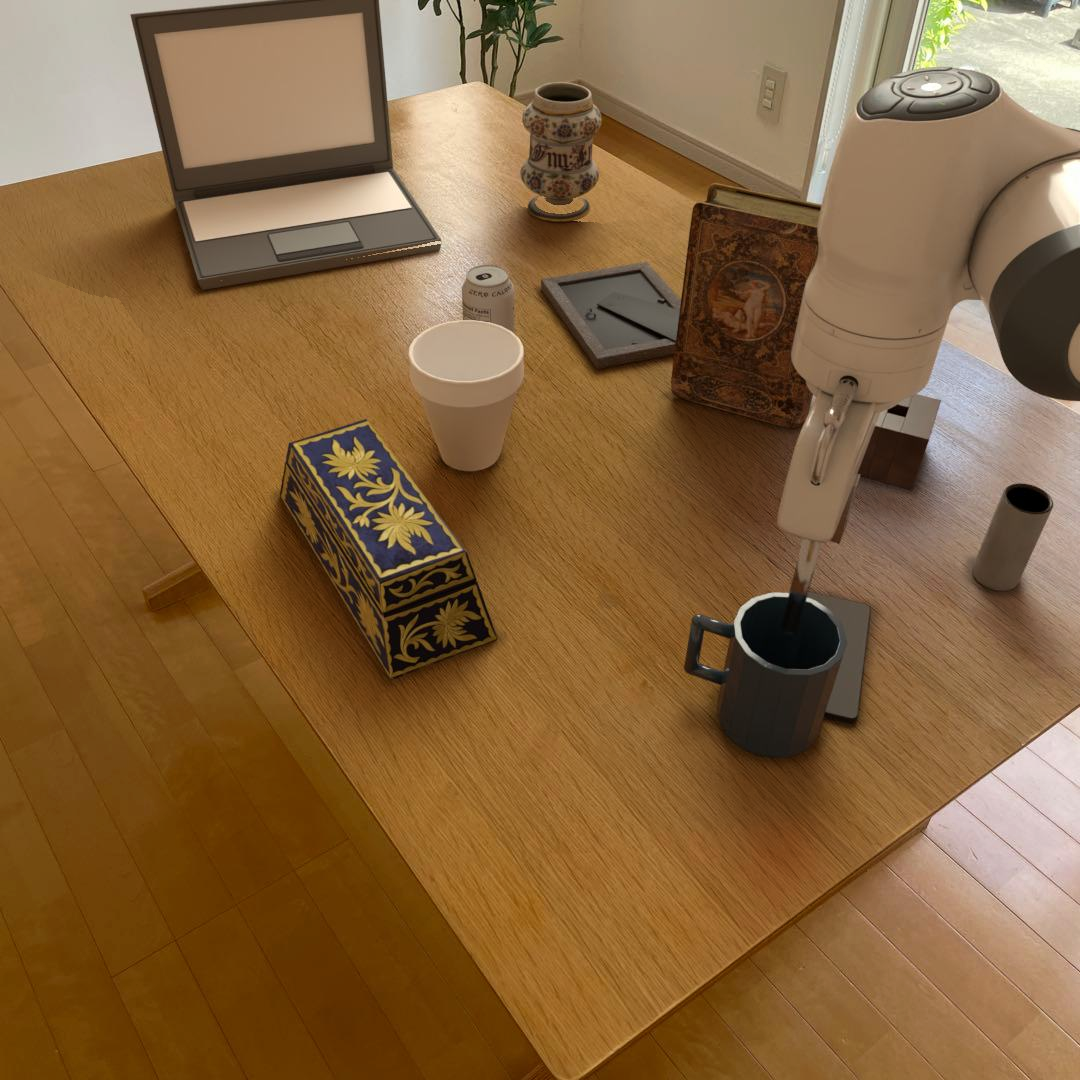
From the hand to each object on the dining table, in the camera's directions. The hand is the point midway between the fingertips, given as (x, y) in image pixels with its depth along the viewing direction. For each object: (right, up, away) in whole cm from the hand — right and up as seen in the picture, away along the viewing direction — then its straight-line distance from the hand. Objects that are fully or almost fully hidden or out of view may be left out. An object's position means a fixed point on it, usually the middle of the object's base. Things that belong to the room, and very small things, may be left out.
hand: (822, 506), depth 76 cm
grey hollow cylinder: (+26, -6, +30) cm, 40 cm away
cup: (-28, +7, +44) cm, 53 cm away
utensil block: (+19, +7, +43) cm, 48 cm away
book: (+4, +14, +52) cm, 54 cm away
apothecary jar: (-17, +50, +89) cm, 104 cm away
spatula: (0, -10, +9) cm, 14 cm away
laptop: (-56, +45, +83) cm, 110 cm away
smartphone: (+6, -14, +22) cm, 27 cm away
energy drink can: (-27, +17, +54) cm, 62 cm away
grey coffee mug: (-2, -17, +17) cm, 25 cm away
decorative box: (-37, -5, +30) cm, 48 cm away
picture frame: (-9, +27, +66) cm, 72 cm away
